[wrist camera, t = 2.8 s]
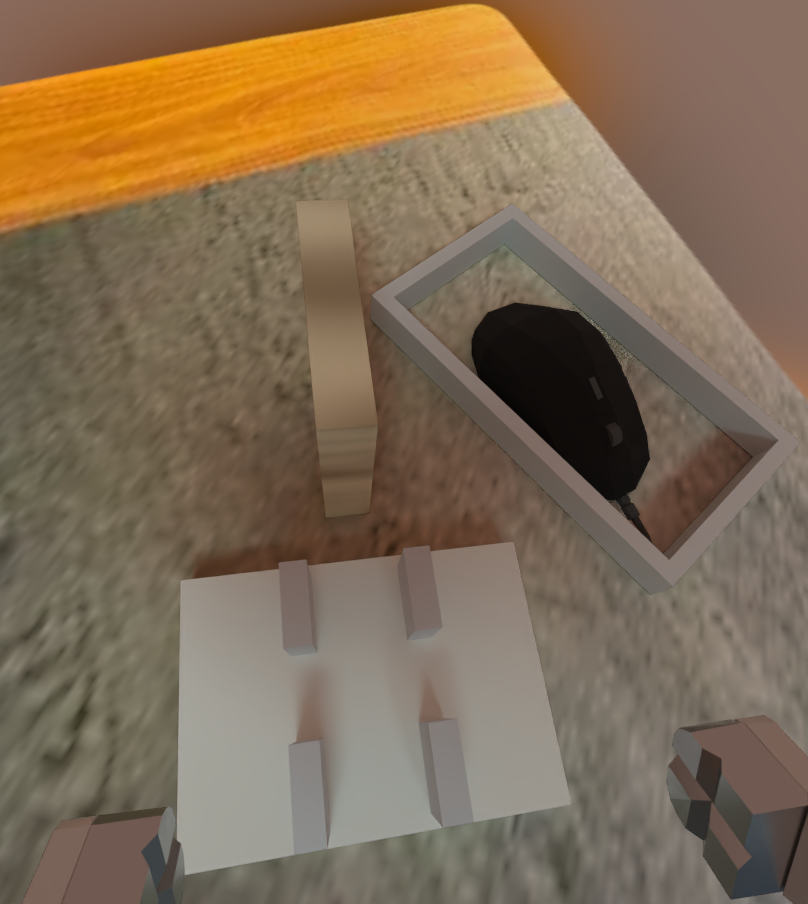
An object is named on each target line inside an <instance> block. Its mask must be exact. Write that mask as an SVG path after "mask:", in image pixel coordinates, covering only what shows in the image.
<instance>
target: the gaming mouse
mask: <svg viewBox="0 0 808 904" xmlns="http://www.w3.org/2000/svg"><path fill="white" fill-rule="evenodd" d="M472 357H473V360H474V364H475V367H476V370H477V374H478V377H479V379H480V380H481V381H482V382H483V383H484V384H485V385H486V386H487V387H488V388H489V389H491V390H492V391H493V392H494V393H495V394H496V395H497V396H498V397H499V398H500V399H501V400H502V401H503V402H504V403H505V404H506V405H507V406H508V407H509V408H510V409H511V410H513V411H514V412H515V413H516V414H517V415H518V416H519V417H520V418H521V419H522V420H523V421H524V422H525V423H526V424H527V425H528V426H529V427H530V428H531V429H532V430H533V431H535V432H536V433H537V434H538V435H539V436H540V437H541V438H542V439H543V440H544V441H545V442H546V443H547V444H548V445H549V446H550V447H551V448H552V449H553V450H554V451H556V452H557V453H558V454H559V455H560V456H561V457H562V458H563V459H564V460H565V461H566V462H567V463H568V464H569V465H570V466H571V467H572V468H573V469H574V470H575V471H576V472H578V473H579V474H580V475H581V476H582V477H583V478H584V479H585V480H586V481H587V482H588V483H589V484H590V485H591V486H592V487H593V488H594V489H595V490H596V491H597V492H598V493H600V494H601V495H602V496H603V497H604V498H605V499H607V500H615V499H617V501H618V503H619V504H620V505H622V507H623V508H622V510H623V512H624V514H625V515H626V517H627V518H628V520H632V521H633V523H634V524H635V525H636V527H637V528H638V530H639V531H640V532H641V534H642V535H644V536H645V537H646V538H647V539H648V540H649V541H650V542H651V543H652V541H651V539H650V536H649V534H648V533H647V531H646V529H645V528H644V526H643V524H642V523H641V521H640V519H639V517H638V516H639V515H640V514H639V512H638V511H637V509H636V507H635V505H634V504H633V503H630V498H629V497H628V495H627V493H629V492H631V491H633V490H635V489H636V487H637V485H638V482H639V480H640V478H641V476H642V474H643V472H644V470H645V468H646V466H647V464H648V462H649V460H650V457H649V449H648V440H647V434H646V431H645V428H644V425H643V422H642V418H641V415H640V412H639V409H638V406H637V403H636V400H635V398H634V395H633V393H632V391H631V388H630V385H629V383H628V380H627V378H626V377H625V375H624V373H623V371H622V367H621V365H620V363H619V361H618V360H617V358H616V356H615V355H614V353H613V351H612V349H611V348H610V346H609V344H608V343H607V341H606V339H605V337H604V336H603V335H602V334H601V332H600V331H599V330H597V329H596V328H595V327H594V326H593V325H592V324H590V323H589V322H588V321H587V320H586V319H585V318H584V317H583V316H581V315H580V314H579V313H578V312H576V311H569V310H563V309H557V308H551V307H545V306H538V305H530V304H521V303H513V304H511V305H508V306H505V307H502V308H500V309H497V310H494V311H491V312H488V313H487V315H486V316H485V317H484V319H483V320H482V322H481V323H480V324H479V326H478V327H477V328H476V330H475V333H474V336H473V339H472Z"/></svg>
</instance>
